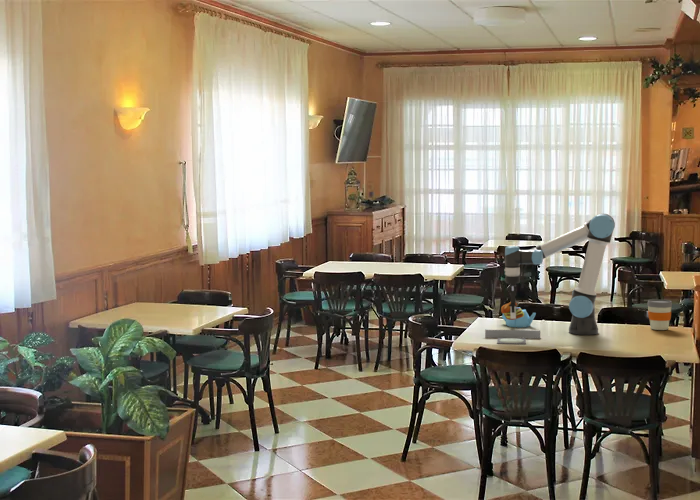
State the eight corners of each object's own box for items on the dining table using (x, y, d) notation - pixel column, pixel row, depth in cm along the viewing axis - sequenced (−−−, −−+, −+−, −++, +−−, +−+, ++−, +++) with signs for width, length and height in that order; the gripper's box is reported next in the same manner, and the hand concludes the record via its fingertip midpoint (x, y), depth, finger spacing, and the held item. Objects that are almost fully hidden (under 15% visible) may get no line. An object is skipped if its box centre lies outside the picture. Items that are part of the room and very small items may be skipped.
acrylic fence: (540, 338, 427) (540, 330, 427) (540, 338, 426) (540, 330, 425) (485, 337, 432) (485, 329, 432) (485, 337, 431) (485, 329, 431)
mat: (525, 339, 424) (525, 338, 424) (525, 344, 410) (525, 343, 410) (497, 338, 427) (497, 337, 427) (497, 343, 413) (497, 342, 413)
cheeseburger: (525, 318, 434) (518, 301, 433) (506, 325, 437) (498, 308, 436) (524, 313, 444) (517, 296, 443) (506, 320, 447) (499, 304, 446)
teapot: (526, 323, 473) (526, 305, 472) (536, 328, 458) (536, 308, 457) (500, 325, 470) (500, 306, 469) (510, 329, 455) (510, 309, 454)
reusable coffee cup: (646, 329, 446) (646, 302, 444) (647, 326, 457) (647, 299, 456) (671, 330, 441) (671, 302, 440) (672, 327, 452) (672, 299, 451)
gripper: (505, 273, 450) (506, 313, 452) (505, 277, 428) (505, 320, 430) (519, 273, 449) (520, 313, 450) (519, 277, 427) (520, 320, 428)
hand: (513, 316), depth 440 cm, fingers closed on cheeseburger, 10 cm apart
